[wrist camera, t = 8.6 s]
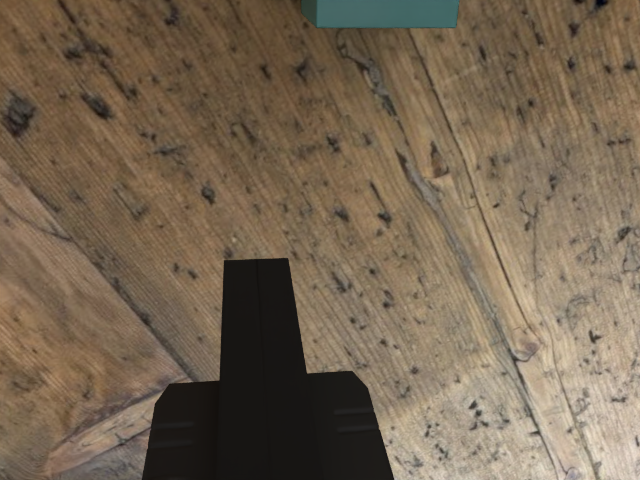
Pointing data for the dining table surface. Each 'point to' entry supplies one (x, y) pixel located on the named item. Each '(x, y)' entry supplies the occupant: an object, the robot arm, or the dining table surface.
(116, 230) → the dining table surface
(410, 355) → the dining table surface
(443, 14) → the block
